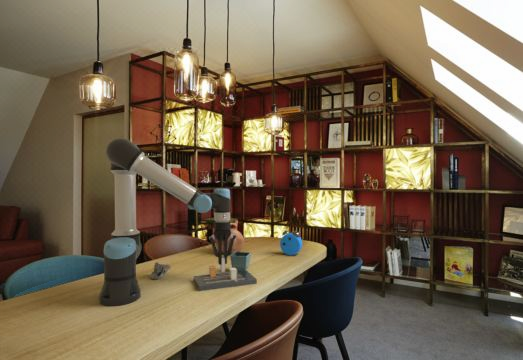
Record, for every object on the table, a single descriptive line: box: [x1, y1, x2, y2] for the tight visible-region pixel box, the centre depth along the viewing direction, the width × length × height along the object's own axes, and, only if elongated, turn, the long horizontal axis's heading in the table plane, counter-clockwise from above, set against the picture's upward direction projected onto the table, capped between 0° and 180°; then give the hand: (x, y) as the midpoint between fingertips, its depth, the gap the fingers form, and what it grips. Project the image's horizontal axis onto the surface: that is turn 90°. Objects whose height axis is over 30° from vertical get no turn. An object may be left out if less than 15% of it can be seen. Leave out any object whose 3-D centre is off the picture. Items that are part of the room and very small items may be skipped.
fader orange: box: [208, 265, 217, 277], centre depth 149 cm, size 3×3×4 cm
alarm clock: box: [279, 230, 303, 256], centre depth 200 cm, size 13×6×15 cm, turn 66°
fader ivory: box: [228, 267, 237, 279], centre depth 146 cm, size 3×3×4 cm
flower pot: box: [229, 251, 252, 271], centre depth 165 cm, size 9×9×9 cm
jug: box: [215, 220, 245, 255], centre depth 206 cm, size 18×18×20 cm
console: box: [193, 269, 258, 292], centre depth 148 cm, size 26×15×3 cm, turn 111°
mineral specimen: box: [150, 261, 172, 281], centre depth 156 cm, size 10×8×10 cm
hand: (222, 270), depth 151 cm, fingers closed
